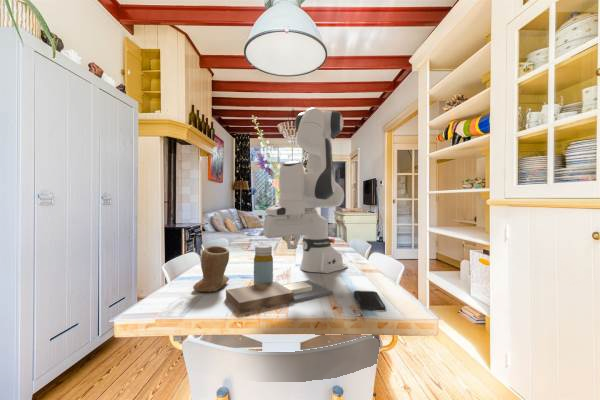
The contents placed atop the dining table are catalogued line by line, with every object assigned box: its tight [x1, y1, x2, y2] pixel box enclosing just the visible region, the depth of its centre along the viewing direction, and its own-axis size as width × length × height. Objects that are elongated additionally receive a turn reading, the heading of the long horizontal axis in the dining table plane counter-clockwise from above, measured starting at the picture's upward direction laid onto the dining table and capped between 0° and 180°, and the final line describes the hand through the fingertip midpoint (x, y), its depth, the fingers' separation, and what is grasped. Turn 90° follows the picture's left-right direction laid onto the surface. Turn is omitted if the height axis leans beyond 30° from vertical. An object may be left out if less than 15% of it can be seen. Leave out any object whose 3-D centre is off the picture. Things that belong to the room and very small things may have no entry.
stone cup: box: [192, 245, 230, 293], centre depth 108 cm, size 15×12×15 cm
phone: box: [353, 290, 386, 311], centre depth 95 cm, size 8×1×15 cm
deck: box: [225, 281, 294, 314], centre depth 95 cm, size 18×13×3 cm
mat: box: [283, 279, 334, 303], centre depth 104 cm, size 15×15×1 cm
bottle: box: [253, 244, 274, 285], centre depth 109 cm, size 7×7×15 cm
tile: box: [281, 281, 312, 294], centre depth 102 cm, size 9×6×2 cm, turn 121°
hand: (292, 248), depth 101 cm, fingers closed
